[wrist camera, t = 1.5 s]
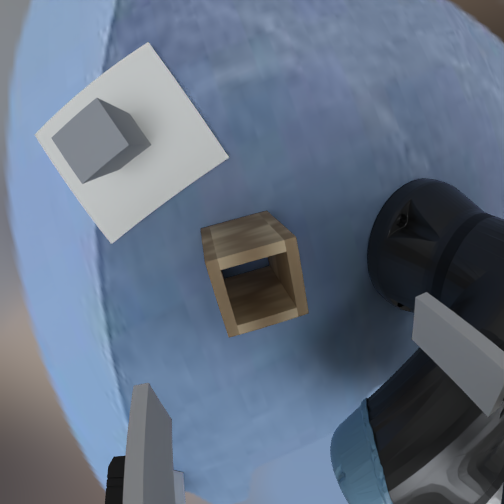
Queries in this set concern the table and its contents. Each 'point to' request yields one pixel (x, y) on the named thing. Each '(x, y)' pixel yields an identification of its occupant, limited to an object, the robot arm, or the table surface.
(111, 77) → the post board
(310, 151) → the table surface
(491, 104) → the table surface
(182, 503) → the milk
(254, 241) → the collar
